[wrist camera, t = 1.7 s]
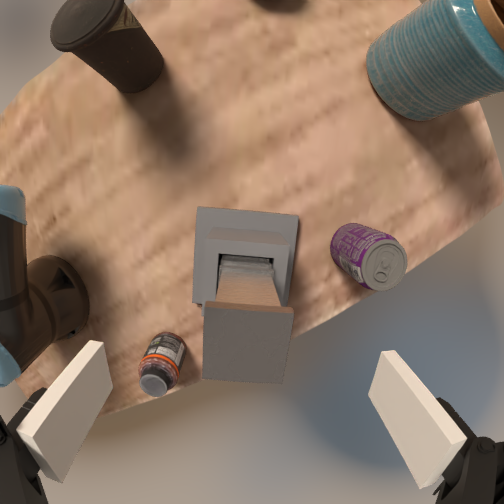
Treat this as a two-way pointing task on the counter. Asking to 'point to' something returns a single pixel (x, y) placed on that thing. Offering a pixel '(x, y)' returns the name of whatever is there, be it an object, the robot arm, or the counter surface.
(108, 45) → the container
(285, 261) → the stand
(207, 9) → the counter surface
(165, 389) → the supplement bottle
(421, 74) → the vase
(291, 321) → the column
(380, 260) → the beverage can
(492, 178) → the counter surface
